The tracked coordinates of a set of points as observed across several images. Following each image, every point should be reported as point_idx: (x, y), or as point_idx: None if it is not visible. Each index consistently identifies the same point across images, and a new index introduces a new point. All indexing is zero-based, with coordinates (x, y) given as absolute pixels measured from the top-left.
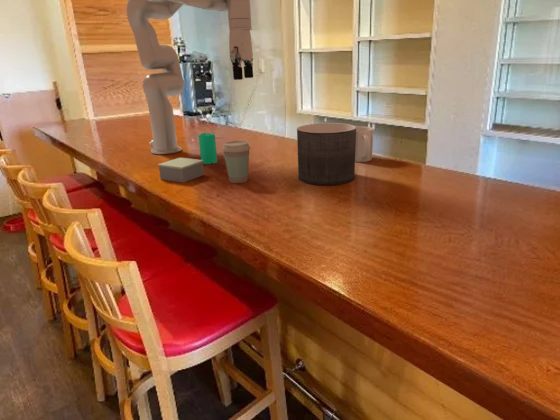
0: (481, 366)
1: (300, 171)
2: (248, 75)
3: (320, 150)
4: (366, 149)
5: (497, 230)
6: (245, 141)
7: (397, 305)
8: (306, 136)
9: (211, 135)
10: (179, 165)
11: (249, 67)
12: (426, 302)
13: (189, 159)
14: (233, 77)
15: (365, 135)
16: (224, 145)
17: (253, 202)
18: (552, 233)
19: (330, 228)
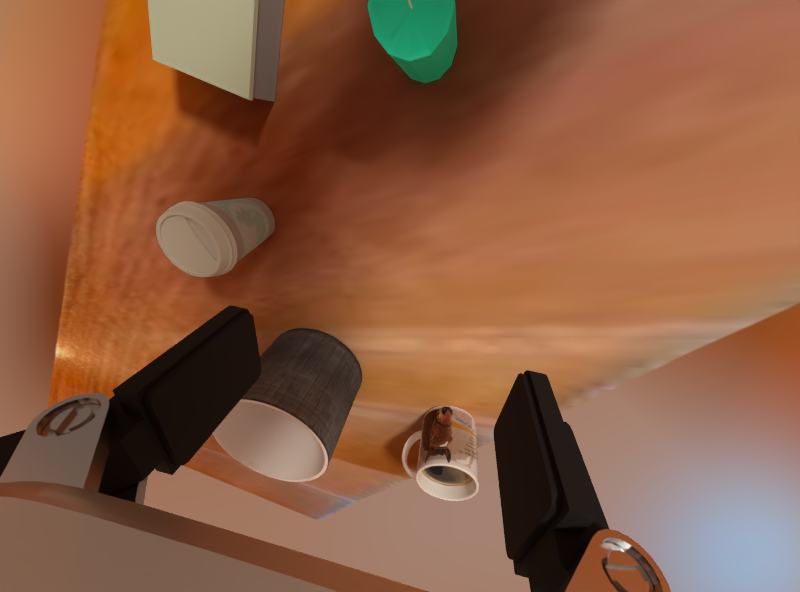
0: (50, 398)
1: (276, 342)
2: (509, 421)
3: None
4: (402, 450)
5: (206, 457)
6: (215, 268)
7: (67, 380)
8: None
9: (388, 52)
10: (166, 35)
11: (518, 532)
12: (81, 393)
13: (241, 31)
14: (220, 313)
15: (411, 475)
16: (160, 217)
17: (165, 270)
18: (216, 478)
19: (142, 357)
